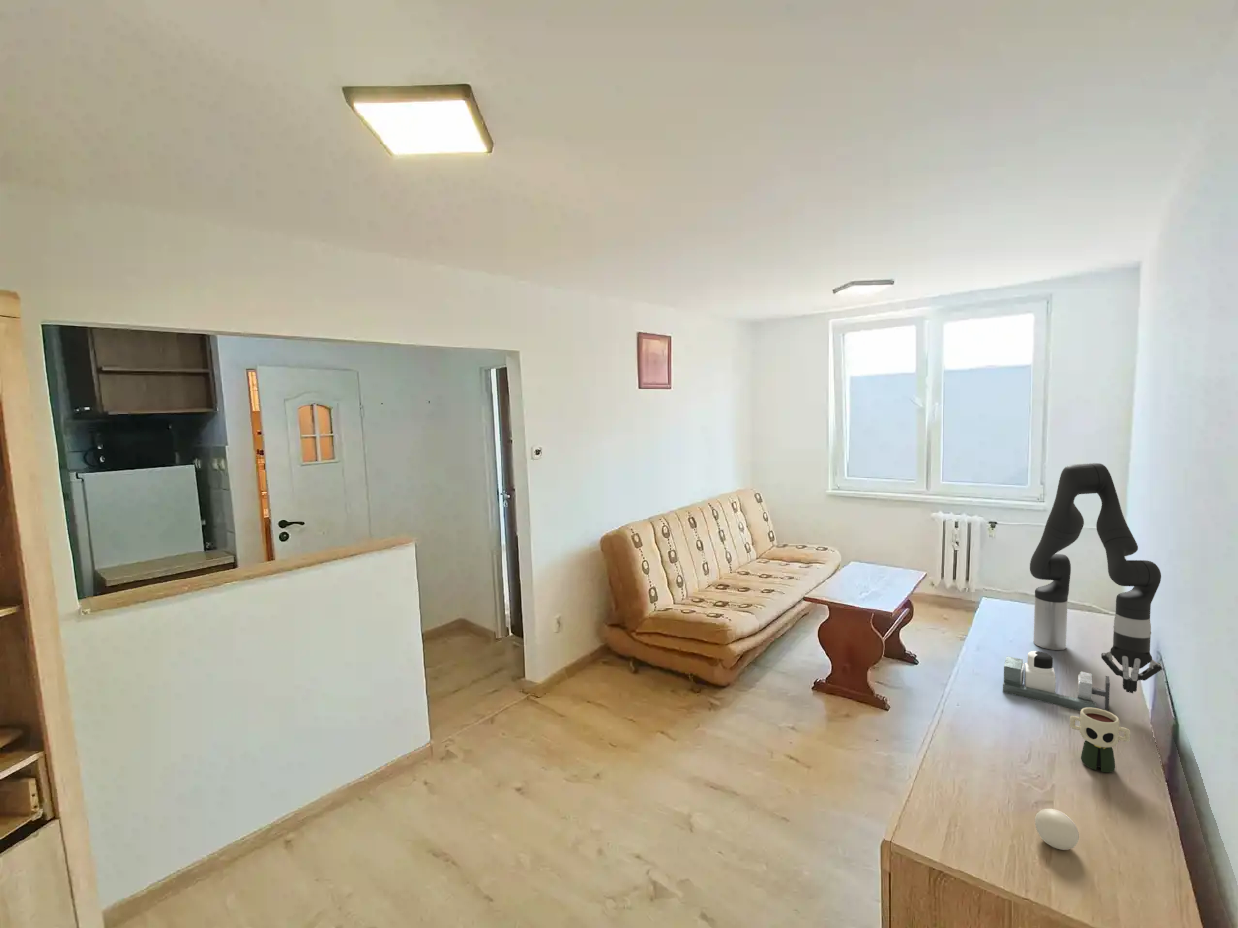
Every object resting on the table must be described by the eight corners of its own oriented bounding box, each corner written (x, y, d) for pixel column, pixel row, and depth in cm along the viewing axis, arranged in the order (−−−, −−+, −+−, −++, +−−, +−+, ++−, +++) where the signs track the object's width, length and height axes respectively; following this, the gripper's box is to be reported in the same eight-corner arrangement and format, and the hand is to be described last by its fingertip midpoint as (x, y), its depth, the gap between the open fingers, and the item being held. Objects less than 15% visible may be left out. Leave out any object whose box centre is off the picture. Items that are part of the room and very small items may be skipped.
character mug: (1068, 765, 135) (1070, 714, 133) (1068, 750, 140) (1069, 701, 139) (1129, 782, 128) (1132, 729, 127) (1126, 766, 134) (1128, 714, 132)
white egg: (1062, 830, 115) (1063, 800, 114) (1086, 859, 108) (1087, 827, 107) (1026, 828, 116) (1027, 798, 115) (1047, 856, 109) (1048, 824, 108)
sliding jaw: (1077, 694, 166) (1078, 668, 165) (1107, 701, 161) (1109, 674, 160) (1077, 705, 160) (1078, 678, 159) (1108, 712, 155) (1110, 685, 155)
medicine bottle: (1052, 689, 169) (1054, 651, 168) (1055, 700, 163) (1056, 661, 162) (1024, 683, 173) (1025, 646, 172) (1025, 694, 167) (1026, 655, 166)
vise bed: (1006, 678, 177) (1006, 656, 176) (1095, 698, 163) (1096, 674, 162) (1002, 691, 169) (1003, 668, 168) (1095, 714, 155) (1096, 688, 155)
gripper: (1163, 632, 152) (1161, 692, 154) (1099, 622, 160) (1097, 679, 162) (1167, 641, 146) (1163, 704, 148) (1100, 630, 155) (1098, 690, 156)
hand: (1129, 691), depth 155 cm, fingers closed
